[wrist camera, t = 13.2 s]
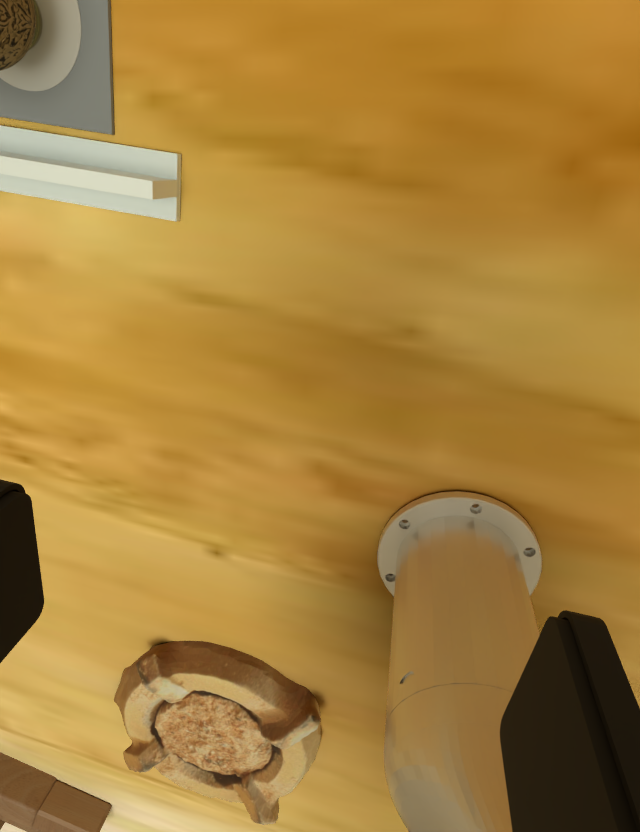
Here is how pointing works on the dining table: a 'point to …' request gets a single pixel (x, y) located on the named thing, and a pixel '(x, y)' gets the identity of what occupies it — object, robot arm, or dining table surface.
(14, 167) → the low wall
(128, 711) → the ashtray
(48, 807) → the wooden block set
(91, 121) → the rest pad
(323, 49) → the dining table surface
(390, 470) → the dining table surface
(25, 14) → the ornate metal lamp shade
